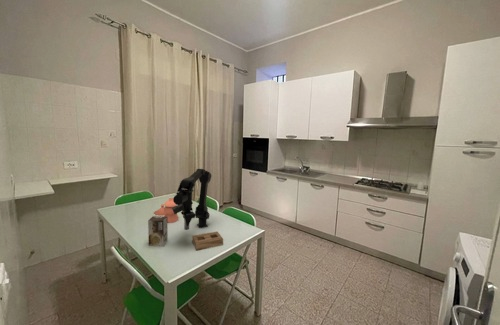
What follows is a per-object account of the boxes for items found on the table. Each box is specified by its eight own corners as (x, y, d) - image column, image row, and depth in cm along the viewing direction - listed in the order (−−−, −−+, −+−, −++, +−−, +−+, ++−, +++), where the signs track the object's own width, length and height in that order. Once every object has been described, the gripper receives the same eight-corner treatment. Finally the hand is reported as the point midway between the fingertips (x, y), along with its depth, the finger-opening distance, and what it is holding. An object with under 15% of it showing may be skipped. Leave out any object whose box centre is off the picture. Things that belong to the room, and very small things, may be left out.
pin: (183, 228, 125) (183, 214, 124) (188, 227, 126) (188, 213, 126) (184, 230, 122) (184, 215, 122) (189, 229, 124) (189, 215, 123)
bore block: (192, 241, 125) (192, 235, 125) (217, 237, 132) (217, 231, 132) (196, 250, 115) (196, 243, 115) (222, 245, 123) (223, 238, 122)
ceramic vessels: (145, 214, 168) (145, 192, 167) (170, 209, 182) (170, 188, 180) (158, 228, 142) (158, 202, 140) (187, 221, 156) (187, 197, 154)
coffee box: (168, 241, 124) (168, 216, 123) (163, 247, 118) (163, 220, 116) (152, 241, 124) (152, 215, 122) (148, 246, 117) (147, 220, 116)
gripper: (171, 197, 127) (171, 221, 129) (175, 206, 111) (174, 233, 112) (189, 195, 132) (189, 218, 134) (195, 203, 116) (195, 230, 117)
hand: (186, 224), depth 124 cm, fingers closed on pin, 3 cm apart
